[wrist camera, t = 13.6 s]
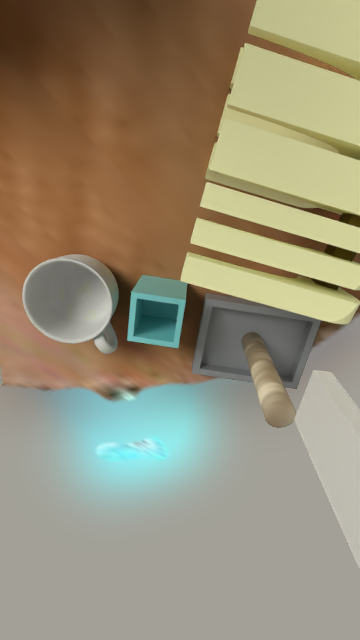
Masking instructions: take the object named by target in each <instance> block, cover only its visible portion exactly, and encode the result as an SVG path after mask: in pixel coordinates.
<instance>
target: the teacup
mask: <svg viewBox="0 0 360 640" xmlns="http://www.w3.org/2000/svg"><path fill="white" fill-rule="evenodd" d="M118 299H119V291H118V285H117V282H116V279H115V277H114V276H113V274H112V272H111V271H110V270H109V269H108V268H107V267H106V266H105V265H104V264H103V263H102V262H100V261H99V260H97V259H95V258H93V257H90V256H86V255H80V254H72V255H66V256H62V257H59V258H55V259H50V260H47V261H45V262H43V263H41V264H39V265H38V266H36V267H35V268H34V269H33V270H32V271H31V272H30V273H29V275H28V276H27V278H26V280H25V283H24V287H23V304H24V308H25V311H26V314H27V315H28V317H29V319H30V320H31V322H32V323H33V325H34V326H36V328H37V329H38V330H40V331H41V332H42V333H43V334H44V335H46V336H48V337H49V338H51V339H53V340H56V341H59V342H63V343H71V344H73V343H81V342H85V341H88V340H91V339H93V340H94V343H95V345H96V346H97V348H98V349H99V350H100V351H101V352H102V353H105V354H110V353H112V352H113V351H115V350H116V349H117V347H118V340H117V337H116V334H115V331H114V329H113V327H112V325H111V322H110V320H111V317H112V315H113V314H114V312H115V310H116V307H117V304H118ZM104 335H105V337H106V339H105V337H104Z"/></svg>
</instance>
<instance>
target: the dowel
mask: <svg viewBox="0 0 360 640" xmlns="http://www.w3.org/2000/svg"><path fill="white" fill-rule="evenodd" d="M241 343H242V347H243V350H244V353H245V356H246V359H247V362H248V366H249V369H250V372H251V375H252V378H253V381H254V384H255V388H256V391H257V394H258V397H259V401H260V404H261V407H262V410H263V413H264V416H265V419H266V421H267V423H268V424H269V425H271V426H273V427H277V428H281V427H286V426H288V425H290V424H291V423H292V422H293V421H294V419H295V416H296V411H295V409H294V406H293V404H292V402H291V400H290V398H289V396H288V394H287V391H286V389H285V387H284V385H283V383H282V381H281V379H280V376H279V374H278V372H277V370H276V368H275V366H274V364H273V361H272V359H271V357H270V355H269V353H268V351H267V349H266V346H265V344H264V342H263V340H262V338H261V336H260V335H259V334H257V333H255V332H250V333H247V334H245V335H244V336H243V338H242V341H241Z"/></svg>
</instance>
